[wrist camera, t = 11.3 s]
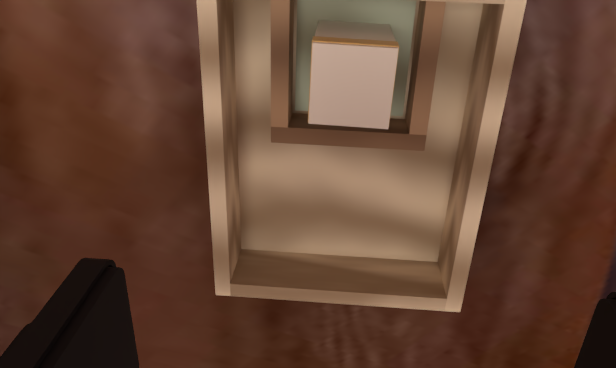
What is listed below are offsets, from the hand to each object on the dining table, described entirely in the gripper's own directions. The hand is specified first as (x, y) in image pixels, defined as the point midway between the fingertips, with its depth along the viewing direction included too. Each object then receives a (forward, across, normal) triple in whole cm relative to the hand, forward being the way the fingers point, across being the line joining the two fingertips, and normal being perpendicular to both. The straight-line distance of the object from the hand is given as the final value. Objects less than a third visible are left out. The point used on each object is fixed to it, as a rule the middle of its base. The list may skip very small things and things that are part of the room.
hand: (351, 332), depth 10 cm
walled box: (+24, 0, +5) cm, 24 cm away
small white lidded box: (+23, 0, 0) cm, 23 cm away
